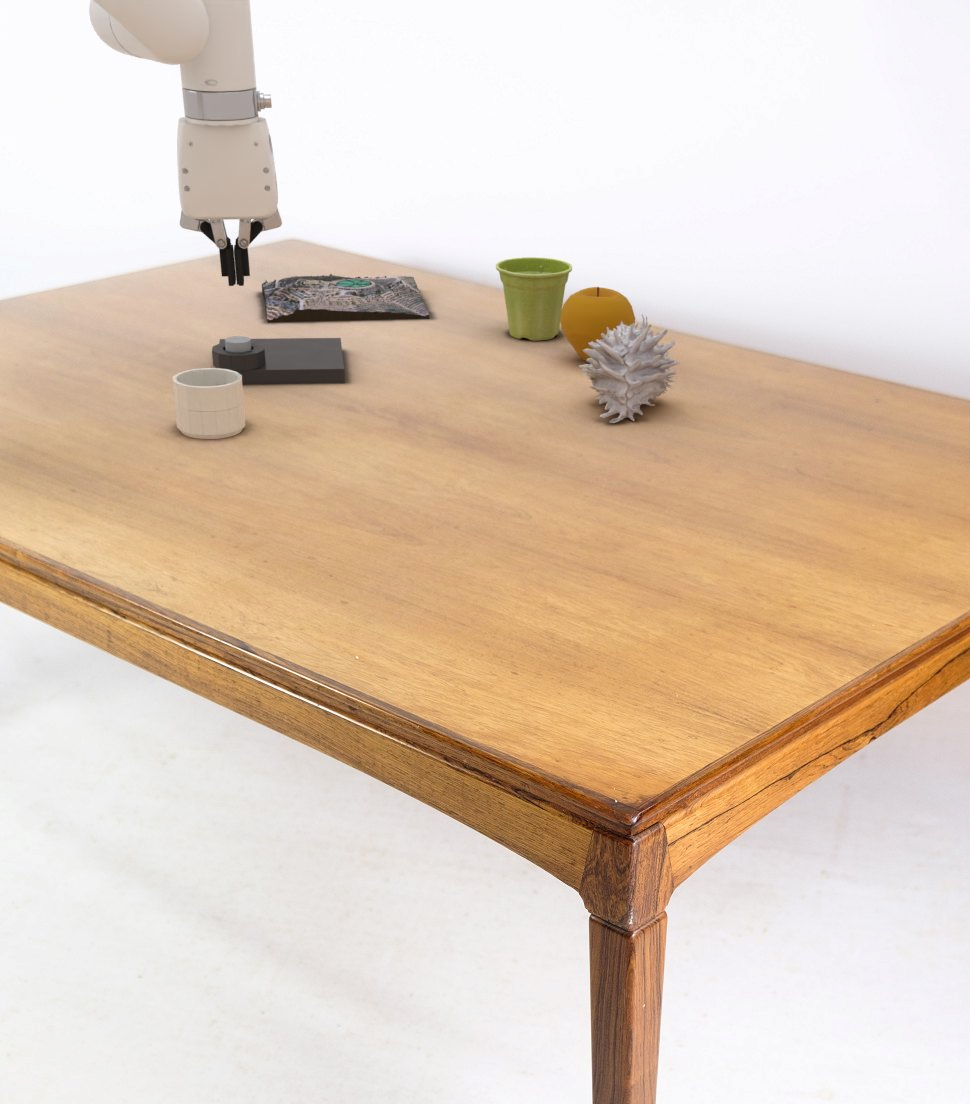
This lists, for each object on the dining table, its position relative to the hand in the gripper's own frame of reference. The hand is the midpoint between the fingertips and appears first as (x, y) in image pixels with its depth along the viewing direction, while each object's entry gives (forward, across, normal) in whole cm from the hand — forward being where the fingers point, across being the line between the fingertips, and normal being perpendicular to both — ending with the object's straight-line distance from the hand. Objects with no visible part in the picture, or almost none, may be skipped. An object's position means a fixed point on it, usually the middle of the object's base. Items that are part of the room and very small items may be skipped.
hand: (236, 282), depth 178 cm
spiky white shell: (+11, -41, +14) cm, 45 cm away
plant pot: (+12, -35, -17) cm, 40 cm away
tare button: (+8, 0, 0) cm, 8 cm away
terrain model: (+11, -12, -32) cm, 36 cm away
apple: (+12, -41, -5) cm, 43 cm away
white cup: (+10, +3, +18) cm, 21 cm away
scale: (+11, -4, -4) cm, 12 cm away
